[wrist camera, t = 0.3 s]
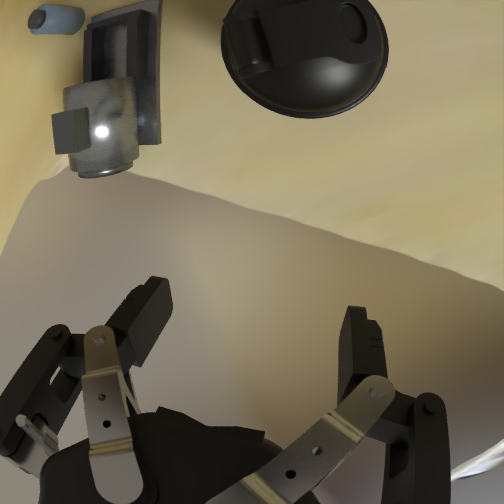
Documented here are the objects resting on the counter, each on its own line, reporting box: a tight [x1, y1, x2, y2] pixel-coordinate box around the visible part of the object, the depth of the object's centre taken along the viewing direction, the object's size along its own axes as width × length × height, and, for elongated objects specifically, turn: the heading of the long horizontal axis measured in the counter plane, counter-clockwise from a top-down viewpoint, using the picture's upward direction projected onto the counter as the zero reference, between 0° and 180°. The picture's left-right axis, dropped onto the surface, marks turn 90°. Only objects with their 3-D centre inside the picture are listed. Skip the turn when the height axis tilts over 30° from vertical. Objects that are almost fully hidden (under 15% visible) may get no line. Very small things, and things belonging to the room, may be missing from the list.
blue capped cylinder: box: [28, 4, 85, 35], centre depth 27 cm, size 5×5×9 cm
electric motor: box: [52, 0, 162, 178], centre depth 30 cm, size 24×12×13 cm, turn 178°
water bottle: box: [221, 0, 389, 119], centre depth 21 cm, size 10×10×23 cm
